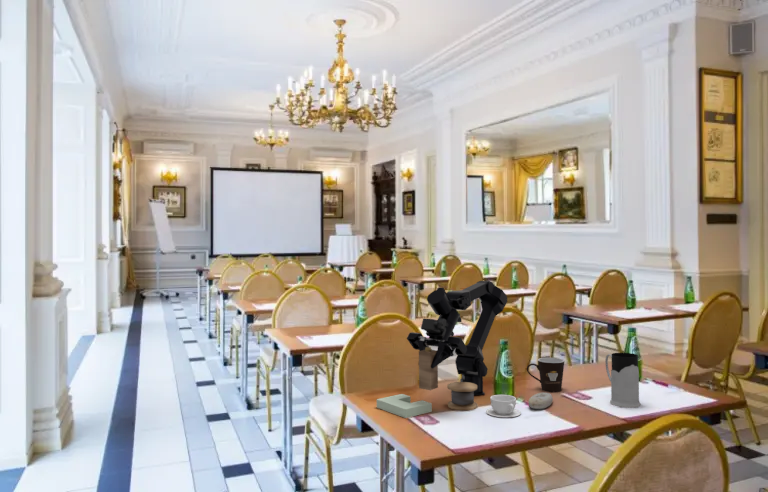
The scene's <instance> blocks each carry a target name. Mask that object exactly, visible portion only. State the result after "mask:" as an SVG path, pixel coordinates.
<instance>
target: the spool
mask: <svg viewBox="0 0 768 492" xmlns="http://www.w3.org/2000/svg"><path fill="white" fill-rule="evenodd" d="M447 389H448V390H450V393H451V394H450V395H451V396H450V397H451V400H450V401H448V402H447V408H449V409H451V410H454V411H462V412H463V411H465V412H466V411H473V410H476V409H478V402H477V401H475V395H474V391H475V390H477V385H476V384H474V383H469V382H460V381H456V382H450V383H448V384H447Z"/></svg>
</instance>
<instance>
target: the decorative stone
mask: <svg viewBox="0 0 768 492" xmlns="http://www.w3.org/2000/svg"><path fill="white" fill-rule="evenodd" d="M553 400H554V398H553V396H552V394H551V393H550V392H538V393H535V394H533V395H532V396H530V397H529V398H528V406H529V407H530V408H531V409H533V410H543V409H546V408H548V407H550V406H551V404H553Z"/></svg>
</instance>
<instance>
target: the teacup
mask: <svg viewBox="0 0 768 492" xmlns="http://www.w3.org/2000/svg"><path fill="white" fill-rule="evenodd" d="M516 402H517V398H516V397H515V396H513V395H509V394H495V395H493V394H492V395H491V396H490V406H491V408H489V409H487V410H486V414H487V415H490V416H492V417H497V418H513V417H515V418H516V417H518V416H521V414H522V412H521V411H520V410H519V409H515V408H516Z"/></svg>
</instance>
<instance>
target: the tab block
mask: <svg viewBox="0 0 768 492" xmlns="http://www.w3.org/2000/svg"><path fill="white" fill-rule="evenodd" d="M431 347H432V346H429V347H425V350H422V351H419V350H418V388H419V389H420V390H426V391H432V390H435V389H437V388H439V371H438V370H439V369H438V367H439V364H438V365H437V366H436V367H434V368H431V364H432V361H433V359H434V357H435V354H436V352H437V350H435V349H431Z"/></svg>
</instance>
